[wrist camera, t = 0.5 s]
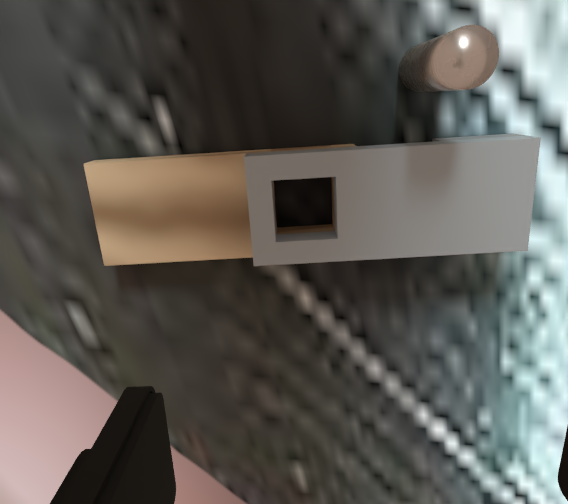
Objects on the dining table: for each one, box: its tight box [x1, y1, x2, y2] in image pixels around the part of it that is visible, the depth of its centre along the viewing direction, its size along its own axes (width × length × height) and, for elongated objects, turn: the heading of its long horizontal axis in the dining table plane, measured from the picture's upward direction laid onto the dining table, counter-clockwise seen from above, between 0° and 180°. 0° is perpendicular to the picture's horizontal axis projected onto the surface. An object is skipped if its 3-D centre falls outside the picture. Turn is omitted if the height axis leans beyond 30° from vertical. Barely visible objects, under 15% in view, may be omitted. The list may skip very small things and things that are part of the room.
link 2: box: [244, 134, 541, 266], centre depth 34 cm, size 8×20×4 cm, turn 94°
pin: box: [399, 25, 499, 92], centre depth 28 cm, size 3×3×9 cm
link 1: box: [84, 144, 356, 266], centre depth 35 cm, size 8×20×2 cm, turn 94°
